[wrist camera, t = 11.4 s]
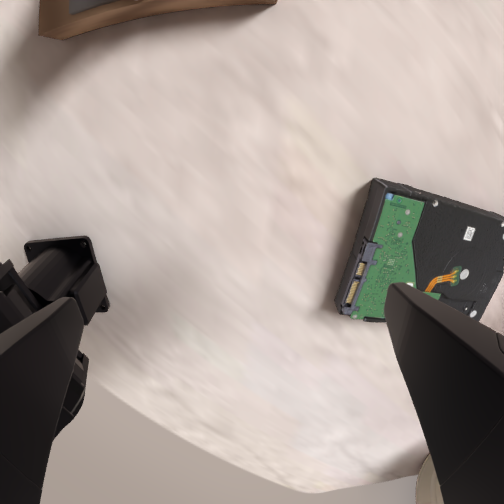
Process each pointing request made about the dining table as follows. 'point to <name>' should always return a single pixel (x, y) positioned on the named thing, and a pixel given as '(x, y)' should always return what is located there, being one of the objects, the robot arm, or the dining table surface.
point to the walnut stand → (112, 13)
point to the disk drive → (422, 252)
